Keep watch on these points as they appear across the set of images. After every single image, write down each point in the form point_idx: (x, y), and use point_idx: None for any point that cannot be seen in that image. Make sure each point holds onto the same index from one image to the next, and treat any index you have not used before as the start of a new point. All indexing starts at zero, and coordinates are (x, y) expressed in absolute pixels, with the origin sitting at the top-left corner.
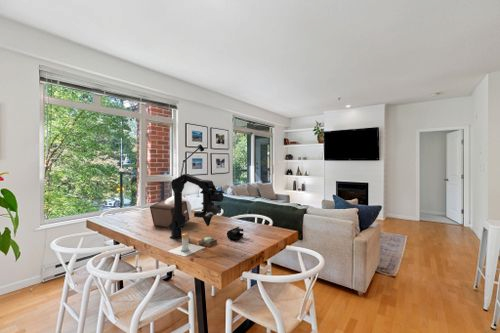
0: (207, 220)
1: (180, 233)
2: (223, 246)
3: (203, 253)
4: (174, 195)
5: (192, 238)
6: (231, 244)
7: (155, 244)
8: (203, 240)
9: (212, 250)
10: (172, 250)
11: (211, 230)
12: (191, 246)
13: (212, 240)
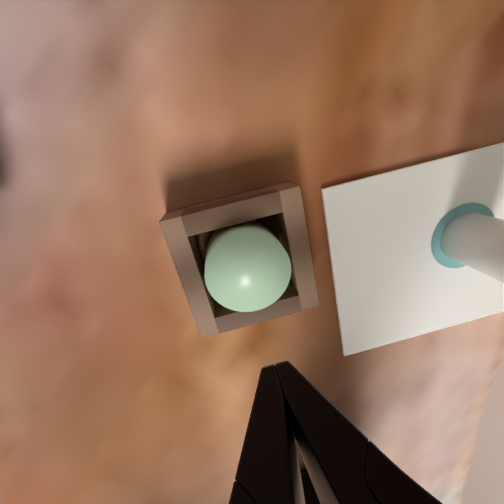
0: (399, 472)
1: (317, 501)
2: (171, 71)
3: (423, 71)
4: None
5: None
6: (55, 47)
7: (457, 445)
8: None
9: (324, 67)
10: (496, 299)
11: (26, 501)
12: (376, 282)
13: (225, 217)
